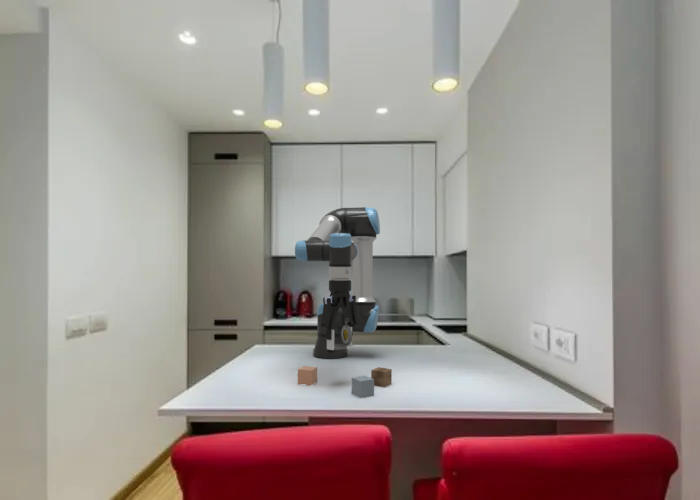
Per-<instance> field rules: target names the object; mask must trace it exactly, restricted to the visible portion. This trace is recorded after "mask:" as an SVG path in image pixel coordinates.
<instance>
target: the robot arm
mask: <svg viewBox="0 0 700 500" xmlns="http://www.w3.org/2000/svg"><path fill="white" fill-rule="evenodd" d="M377 210H378V209H376V208H374V207H367V206H364V207H363V206H362V207H341V208H340V207H339V208H336V209H334V210H332V211H330V212H328V213H326V214H325V215H324V216H323V217H322V218H321V219H320V221H319V224H318V227H317V228H316V229H315V230H314V231H313V233H312V234H311V235H310V236H309V238H308V239H307V240H306V239H303V240H297V241H296V243H295V245H294V256H295V259H296V260H297V261H299V262H306V263H307V262H328V263H329V264H328V278H329V279H330V280H329V281H328V291H329V292H330V295H329V296H328V297H323V299H322V302H323V303H320V304H319V305H318V307H317V314H316V316H317V325H316V326H317V330H316V331H317V334H316V335H317V336H316V337H317V338H316V340H315V344H314V348H313V350H312V356H313V357H315V358H318V359H319V358H320V359H326V360H327V359H329V360H330V359H331V360H332V359H334V360H335V359H342V358H346V357H348V355H349V349H348V347H353V340H352V341H351V343H350V344H349V345H347V348H346V349H342V350H334V344H344V343H343V341H342V338H341V330H342V327H343V326H344V325H345V324H346V323H345V321H346V320H347V322H348V319H349V322H348V323H347V325H348V326H349V327H350V328H351V331H352V337H353V335H354V333H364V334H365V333H374V332H375V331H376V329H377V326H378V323H379V317H380V306H379V305H377V304H376V303H377V301H376V299H374V298H373V266H374V265H373V257H374V256H373V255H374V254H373V253H374V245H373V243H374V241H376V239H377V235H380V234H381V225H380V224H381V223H380V217H379V213H378V211H377ZM351 279H352V280H351ZM351 291H352V295H351V294H350V292H351ZM346 318H348V319H346ZM345 319H346V320H345ZM347 334H348V333H347Z"/></svg>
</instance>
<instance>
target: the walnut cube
mask: <svg viewBox="0 0 700 500" xmlns="http://www.w3.org/2000/svg"><path fill="white" fill-rule="evenodd" d="M370 372H371V375H370V378H372V379H374V387H380V388H381V387H382V388H386V387H388V386H390V385H392V379H393V378H392V374H393V373H392V368H386V367H378V366H377V367H376V368H374V369H371V370H370Z"/></svg>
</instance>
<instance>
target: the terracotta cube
mask: <svg viewBox="0 0 700 500" xmlns="http://www.w3.org/2000/svg"><path fill="white" fill-rule="evenodd" d="M315 382H316V383H318V366H317V367H316V366H307V365H306V366H305V365H303V366H301V367H299V368H297V385H301V384H306V385H305V386H311V385H312V384H313V385H315V384H316V383H315ZM314 383H315V384H314ZM313 385H312V386H313Z"/></svg>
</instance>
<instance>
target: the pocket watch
mask: <svg viewBox="0 0 700 500" xmlns="http://www.w3.org/2000/svg"><path fill="white" fill-rule="evenodd" d="M346 319H348V318H346ZM346 319H345V320H346ZM348 322H349V319H348ZM348 322H347V320H346V321H345V323H346V324H345V325H344V326H343V327H342V330H341V338H342V341H343V343H344V344H334V350H342V349H346V348H347V349H348V346H347V345H349V344H350V343H351V341H352V342H353V336H352V331H351V328H350V327H349V326H348V325H347V323H348ZM347 333H348V334H347Z"/></svg>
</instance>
